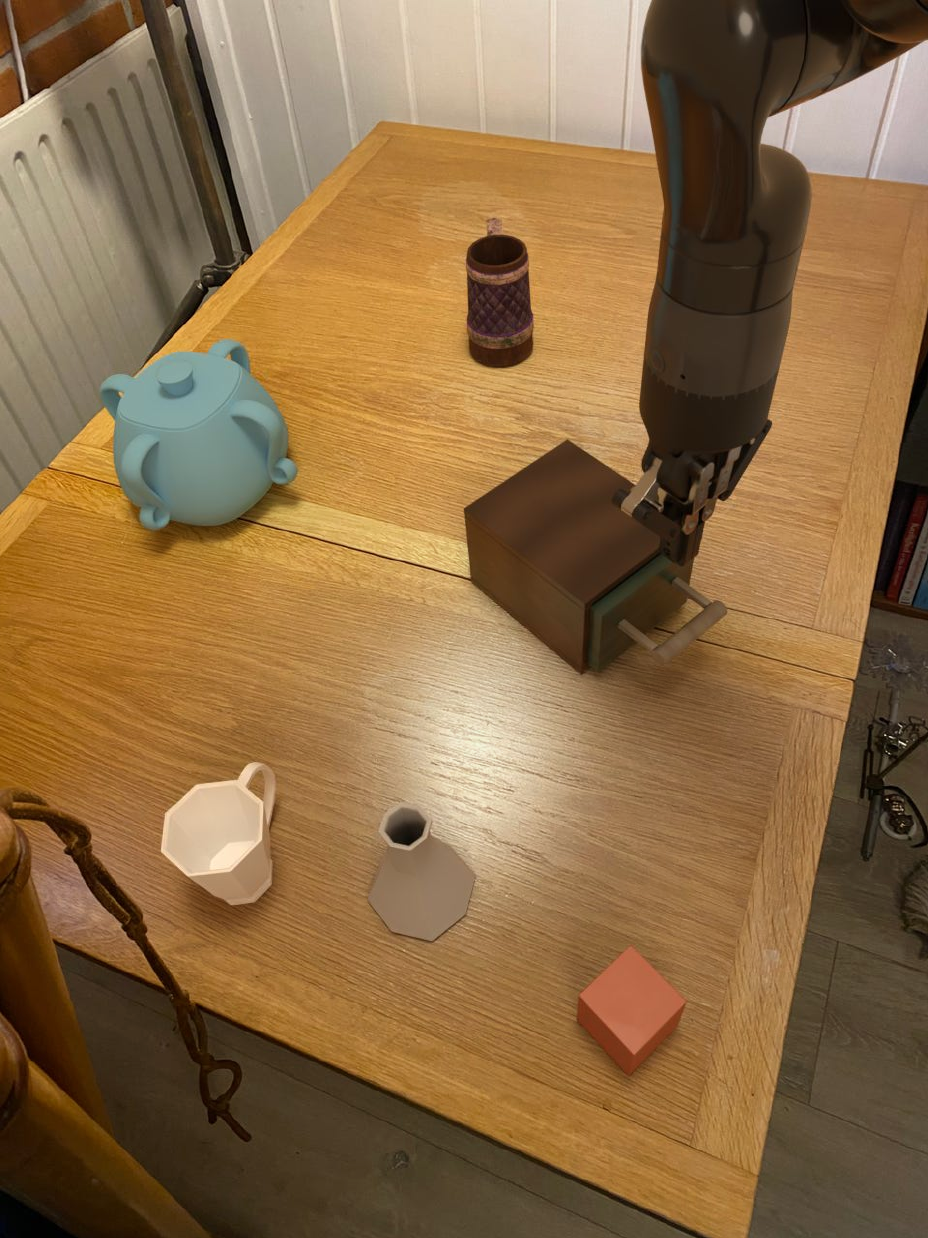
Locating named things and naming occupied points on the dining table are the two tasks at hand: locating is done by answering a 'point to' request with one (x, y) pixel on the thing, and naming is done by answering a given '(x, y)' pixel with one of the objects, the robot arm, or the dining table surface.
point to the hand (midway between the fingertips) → (678, 554)
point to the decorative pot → (196, 437)
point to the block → (629, 1009)
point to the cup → (224, 836)
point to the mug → (498, 298)
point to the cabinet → (555, 546)
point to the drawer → (648, 613)
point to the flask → (418, 876)
